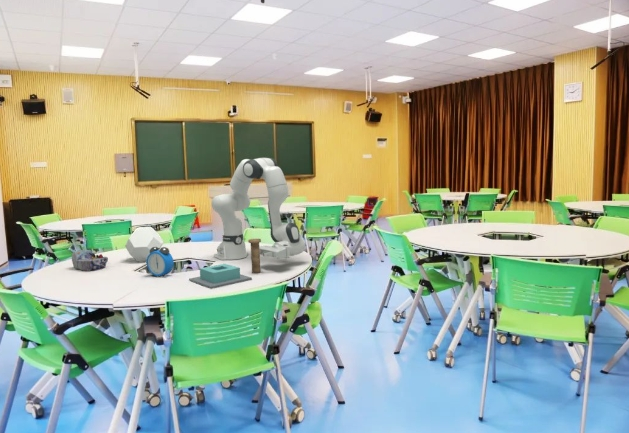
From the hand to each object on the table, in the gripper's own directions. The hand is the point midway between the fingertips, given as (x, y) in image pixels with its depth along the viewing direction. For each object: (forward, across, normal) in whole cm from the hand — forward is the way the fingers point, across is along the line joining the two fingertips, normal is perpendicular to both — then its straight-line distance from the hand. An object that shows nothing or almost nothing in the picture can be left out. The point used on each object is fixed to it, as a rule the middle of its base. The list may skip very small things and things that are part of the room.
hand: (258, 253), depth 235 cm
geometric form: (+29, -80, +10) cm, 86 cm away
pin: (+2, 0, +10) cm, 10 cm away
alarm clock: (+39, -33, +10) cm, 52 cm away
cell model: (+60, -82, +10) cm, 102 cm away
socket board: (+23, 0, +10) cm, 25 cm away
